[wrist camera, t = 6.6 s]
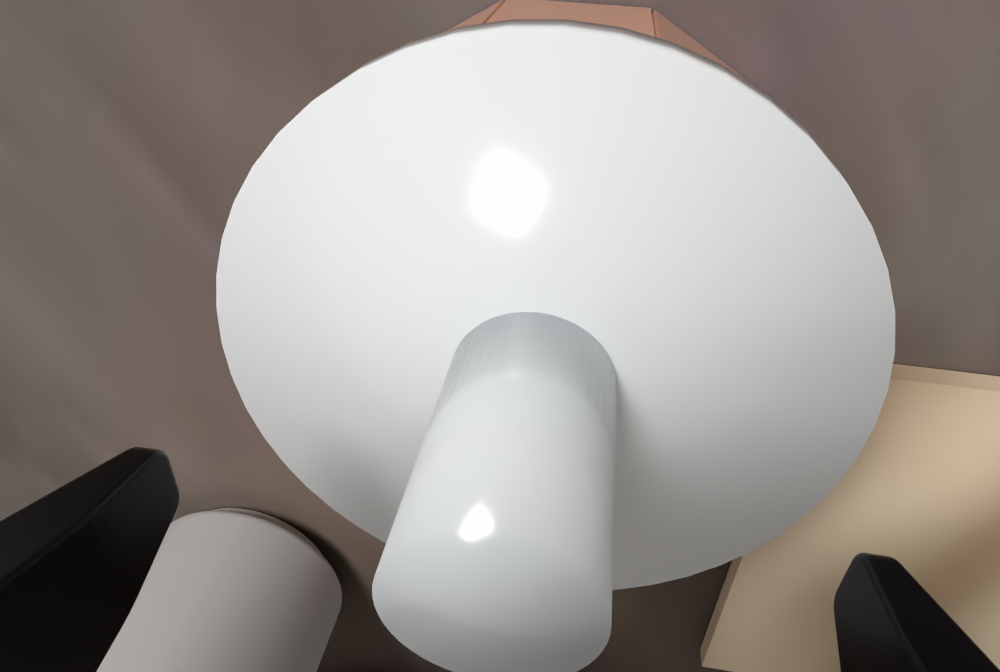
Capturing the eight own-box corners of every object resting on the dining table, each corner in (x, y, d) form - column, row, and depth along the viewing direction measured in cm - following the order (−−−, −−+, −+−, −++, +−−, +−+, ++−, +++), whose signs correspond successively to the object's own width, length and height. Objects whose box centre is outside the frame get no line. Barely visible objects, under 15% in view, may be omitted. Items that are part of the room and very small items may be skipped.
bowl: (864, 23, 12) (950, 81, 9) (732, 443, 18) (755, 573, 15) (315, -16, 13) (212, 23, 10) (355, 392, 19) (298, 504, 16)
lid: (1008, 49, 9) (1376, 232, 4) (776, 594, 15) (835, 887, 11) (175, -8, 10) (-174, 90, 6) (283, 519, 16) (158, 757, 12)
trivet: (1387, 422, 15) (1414, 441, 14) (1092, 713, 22) (1103, 733, 21) (806, 353, 16) (812, 369, 16) (700, 649, 23) (701, 666, 22)
